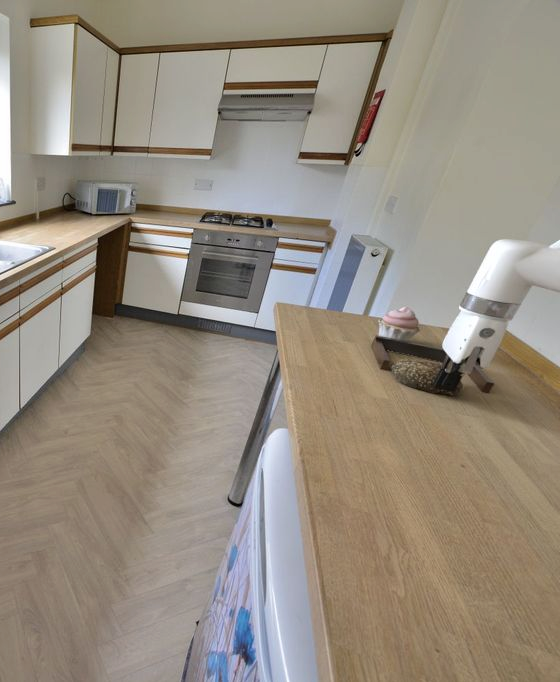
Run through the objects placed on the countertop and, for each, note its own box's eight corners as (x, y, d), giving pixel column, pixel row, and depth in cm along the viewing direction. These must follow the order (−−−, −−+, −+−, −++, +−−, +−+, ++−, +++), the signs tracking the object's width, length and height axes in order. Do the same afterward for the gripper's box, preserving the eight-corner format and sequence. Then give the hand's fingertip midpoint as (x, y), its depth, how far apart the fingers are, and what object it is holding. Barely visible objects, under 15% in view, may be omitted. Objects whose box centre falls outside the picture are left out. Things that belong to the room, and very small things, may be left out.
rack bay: (465, 365, 101) (471, 353, 100) (488, 393, 89) (496, 380, 87) (371, 345, 110) (375, 335, 108) (380, 369, 97) (385, 357, 96)
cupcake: (363, 334, 117) (376, 301, 113) (390, 333, 118) (404, 300, 114) (393, 348, 108) (409, 313, 104) (422, 347, 110) (438, 312, 106)
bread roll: (389, 382, 91) (398, 363, 89) (389, 363, 100) (397, 345, 98) (466, 403, 84) (478, 383, 82) (458, 381, 93) (469, 361, 91)
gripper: (533, 323, 70) (479, 411, 78) (498, 300, 82) (454, 378, 90) (477, 313, 73) (429, 399, 81) (450, 292, 85) (411, 368, 93)
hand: (442, 388), depth 86 cm, fingers closed
